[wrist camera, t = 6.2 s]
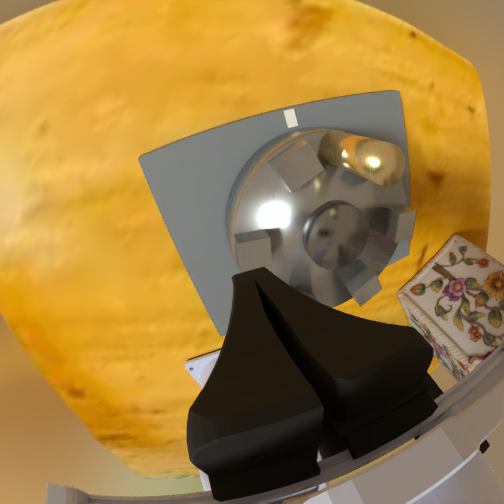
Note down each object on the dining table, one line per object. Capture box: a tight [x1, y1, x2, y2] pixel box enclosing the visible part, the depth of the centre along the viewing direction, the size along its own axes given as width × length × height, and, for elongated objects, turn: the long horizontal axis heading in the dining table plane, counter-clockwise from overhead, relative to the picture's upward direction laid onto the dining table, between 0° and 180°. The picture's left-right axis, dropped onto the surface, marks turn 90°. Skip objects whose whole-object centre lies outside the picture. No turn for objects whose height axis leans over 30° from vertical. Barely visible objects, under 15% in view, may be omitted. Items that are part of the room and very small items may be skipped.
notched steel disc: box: [225, 127, 416, 308], centre depth 17 cm, size 13×13×8 cm
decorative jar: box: [397, 234, 504, 382], centre depth 24 cm, size 12×12×18 cm
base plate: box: [138, 90, 410, 336], centre depth 21 cm, size 16×20×2 cm
